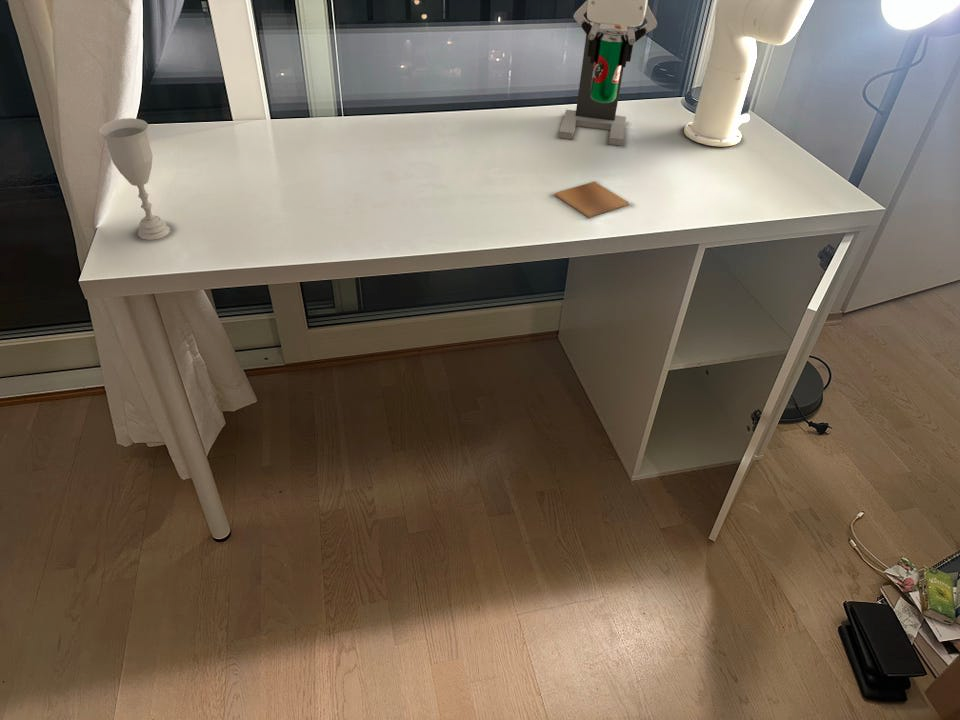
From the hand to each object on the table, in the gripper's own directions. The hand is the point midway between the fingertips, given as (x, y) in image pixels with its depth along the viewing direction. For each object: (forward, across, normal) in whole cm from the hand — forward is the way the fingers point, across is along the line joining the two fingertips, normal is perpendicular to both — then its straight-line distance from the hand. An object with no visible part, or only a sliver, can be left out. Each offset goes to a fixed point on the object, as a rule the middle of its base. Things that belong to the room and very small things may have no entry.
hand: (608, 62), depth 129 cm
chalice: (+22, +69, +47) cm, 86 cm away
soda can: (+7, 0, 0) cm, 7 cm away
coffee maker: (+22, +2, -22) cm, 31 cm away
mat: (+22, -1, +12) cm, 25 cm away
